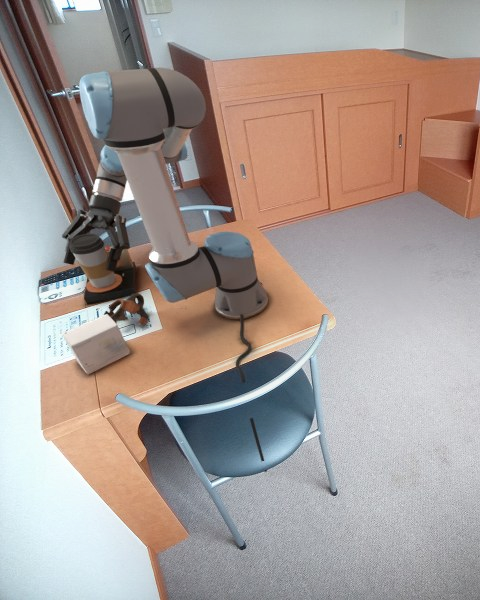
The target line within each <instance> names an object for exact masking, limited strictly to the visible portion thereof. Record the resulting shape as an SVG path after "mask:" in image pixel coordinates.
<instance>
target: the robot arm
mask: <svg viewBox="0 0 480 600" xmlns="http://www.w3.org/2000/svg"><path fill="white" fill-rule="evenodd" d="M78 89H79V91H78V92H79V97H80V102H81V107H82V110H83V114H84V117H85V120H86V122H87V125H88V128H89V130H90V132H91V134H92V135H93V137H94V138H96V139H99V140H103V143H104V146H103V147H102V148H101V151H100V154H99V155H100V159H99V163H98V168H97V172H96V177H95V180H94V183H93V188H92V190H91V193H92V194H91V196H90V199H89V202H88V207H89V211H87V210H83V209H79V210H78V211H77V214H76V216H75V218H74V219H73V220H72V221H71V223H70V224H69V225H68V226H67V228H66V229H65V230H64V232H63V233H62V234H61V238H63V239H64V240H66V245H65V249H64V251H65V255H64V259H63V264H67V265H72V266H74V265H75V261H76V258H75V256H74V254H73V253H72V252H71V250H70V248H69V245H70V244H69V242H70V240H71V239H73V238H74V237H76V236H79V235H83V234H89V233H90V232H91V231H92V230H96V229H99V230H101V229H102V230H105V232H106V235H108V238H109V240H110V243H111V245H112V246H113V248H111V249H110V253H109V257H108V261H107V265H106V269H105V270H109V271H113V272H115V269H116V265H117V261H119V260H120V257H121V253H122V250H123V249H127V250H130V249H131V246H130V240H129V235H128V230H127V226H126V225H127V218H126V217H125V216H122V215H120V210H121V207H122V203H121V202H122V201H123V197H124V194H125V189H126V185H127V184H128V186H129V189H130V191H131V194H132V197H133V199H134V202H135V204H136V207H137V210H138V212H139V215H140V218H141V220H142V221H141V222H142V223H143V227H144V228H145V231H146V234H147V236H148V239H149V242H150V244H151V247H152V249H151V250H150V251H149V253H148V258H149V261H150V262H147V263H146V264H145V265H144V268H145V270H146V272H147V274H148V275H149V277H150V280H152V283H153V284H154V285H155V287H156V288H157V290H158V292H159V293H160V294H161V296H162V297H163V298H164V299H165V301H166V302H168V303H172V304H175V303H178V302H181V301H184V300H186V301H187V300H188V299H190V298H193V297H195V296H197V295H200V294H202V293H205V292H209V291H210V290H213V289H215V288H216V291H215V299H214V307H215V310H216V313H217V314H218V315H220V316H221V317H222V318H225V319H228V320H235V321H237V320H239V322H240V323H239V324H240V325H239V327H240V328H239V331H240V332H239V337H240V340H241V342H242V343H244V344H245V345H246V346H247V349H246V351H244V352H243V353H242V354H240V355H239V356H238V357H237V359H236V360H235V368H236V370H237V372H238V374H239V377H240V381H241V383H242V384H245V383H246V379H245V375H244V371H243V370H242V368H241V366H240V362H241V360H242V359H243V358H245V356H247V355H249V353H250V352H251V351H252V343H251V342H249V341H248V340H247V339H245V336H244V327H245V325H244V320H246V319H249V318H253V317H256V316H257V315H259V314H261V313H262V312H263V311H264V310H266V308H267V306H268V303H269V297H268V293H267V291H266V289H265V288H264V284H263V283H262V282H261V281H260V280H259V278H258V271H257V266H256V262H255V256H254V253H255V252H254V250H253V247H252V243H251V241H250V239H249V238H248V237H247V236H246V235H244V234H242V233H239V232H234V231H218V232H214V233H211V234H209V235H208V236H206V238H205V239H204V242H203V243H204V245H203V246H199V245H198V244H197V243H196V242H194V241H192V240H191V239H190V237H189V234H188V231H187V227H186V224H185V220H184V217H183V215H182V211H181V208H180V204H179V201H178V199H177V196H176V192H175V189H174V186H173V184H172V180H171V176H170V174H169V170H168V167H167V165H168V164H174V163H179V162H182V161H185V160H187V159H188V157H189V156H188V155H189V154H188V149H187V146H186V141H187V139H188V137H189V136H190V134H191V132H192V130H193V129H196V128H197V127H198V126H200V125H201V124H202V122H203V120H204V118H205V116H206V111H207V107H206V106H207V105H206V99H205V97H204V95H203V93H202V91H201V89H200V87H198V86H197V84H196V83H195V82H194V81H193V80H191V79H190V77H188V76H186V75H185V74H183V73H181V72H180V71H177V70H175V69H171V68H169V67H167V68H166V67H150V68H139V69H123V70H111V71H110V70H108V71H107V70H103V71H100V72H93V73H87V74H85V75H83V76H81V78H80V80H79V85H78ZM114 248H115V249H114ZM249 421H250V426H251V428H252V433H253V437H254V440H255V443H256V448H257V450H258V454H259V457H260V461H261V462H262V461H265V457H264V454H263V450H262V447H261V443H260V440H259V436H258V432H257V429H256V425H255V420H254V417H251V418H249ZM267 471H268V469H267V470H265V471H264V470H263V472H265V473H266V472H267Z"/></svg>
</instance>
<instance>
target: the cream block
mask: <svg viewBox="0 0 480 600" xmlns="http://www.w3.org/2000/svg"><path fill="white" fill-rule="evenodd" d="M111 248H113V245H112V246H105V249H106V252H107V254H108V257H109V253H110V249H111ZM114 249H115V248H114ZM133 262H134V261H133V260H132V257H131V255H130V253H129V249H123V250H122V253H121V257H120V260H119V261H117V265H116V269H115V271H121V270H127V269H133Z"/></svg>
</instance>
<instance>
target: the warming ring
mask: <svg viewBox="0 0 480 600" xmlns="http://www.w3.org/2000/svg"><path fill="white" fill-rule="evenodd" d="M114 275H115V282H114V283H113V284H112V285H110V286H108V287H104V288H97V287H94V286H93V285H92V284H91V282H90V281H89V282H88V283H87V284H86V283H85V288H86V289H87V290H88V291H90V292H94V293H101V292H106V291H109V290H112V289H114V288H116V287H117V286H119V285H120V284H121V282H122V277H121V276H120V275H118V274H114Z"/></svg>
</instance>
